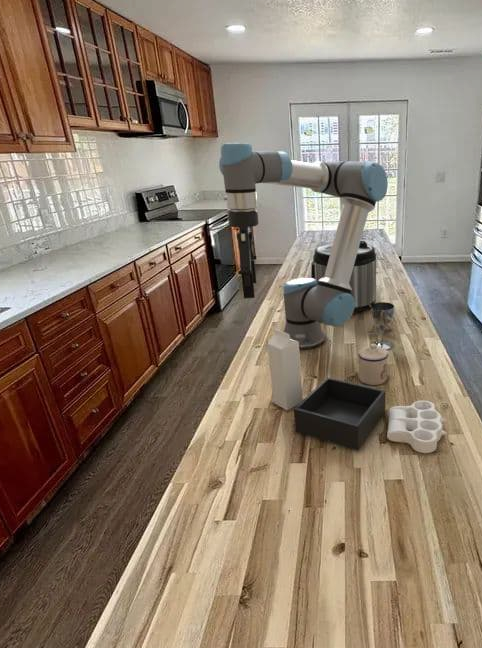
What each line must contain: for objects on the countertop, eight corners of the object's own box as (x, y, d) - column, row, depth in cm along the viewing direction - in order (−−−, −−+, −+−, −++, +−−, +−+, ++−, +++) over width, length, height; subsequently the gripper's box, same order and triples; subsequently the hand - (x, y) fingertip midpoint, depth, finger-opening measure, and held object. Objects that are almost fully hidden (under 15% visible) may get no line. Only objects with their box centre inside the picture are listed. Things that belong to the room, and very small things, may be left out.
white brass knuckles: (390, 408, 120) (444, 412, 118) (386, 450, 104) (448, 455, 102) (390, 398, 118) (445, 401, 116) (386, 438, 102) (450, 443, 100)
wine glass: (396, 343, 157) (398, 304, 151) (386, 352, 151) (387, 311, 145) (377, 339, 161) (377, 300, 155) (366, 347, 155) (366, 307, 149)
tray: (328, 398, 125) (327, 377, 122) (385, 412, 118) (385, 390, 115) (295, 431, 111) (293, 408, 108) (358, 450, 104) (357, 426, 101)
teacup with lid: (386, 386, 130) (387, 351, 125) (356, 385, 131) (356, 350, 126) (388, 367, 141) (389, 335, 136) (360, 366, 142) (360, 333, 137)
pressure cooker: (347, 290, 214) (346, 224, 200) (391, 304, 195) (393, 232, 181) (299, 306, 195) (294, 234, 181) (342, 322, 176) (340, 244, 163)
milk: (287, 411, 120) (280, 338, 110) (273, 403, 124) (265, 332, 114) (303, 401, 124) (298, 331, 114) (289, 394, 128) (283, 325, 118)
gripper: (231, 204, 121) (239, 278, 130) (222, 217, 99) (232, 305, 108) (258, 203, 122) (265, 277, 131) (255, 216, 100) (263, 303, 109)
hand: (250, 290), depth 120 cm, fingers open, 13 cm apart
